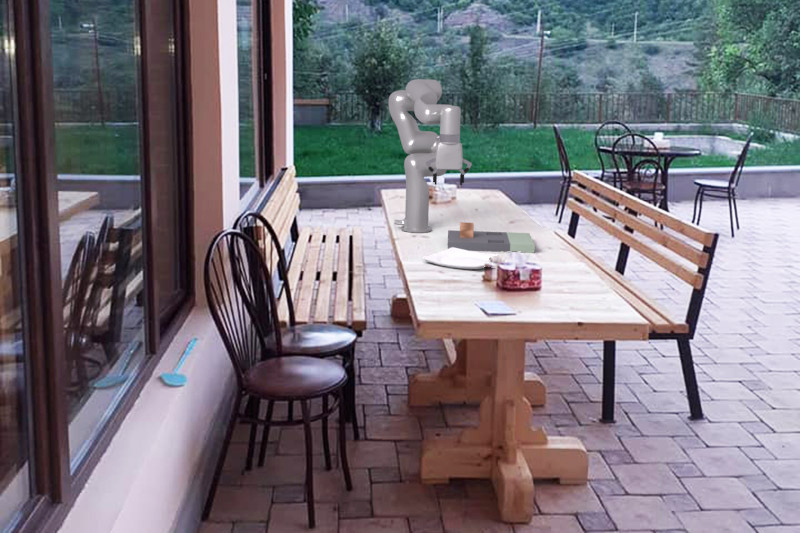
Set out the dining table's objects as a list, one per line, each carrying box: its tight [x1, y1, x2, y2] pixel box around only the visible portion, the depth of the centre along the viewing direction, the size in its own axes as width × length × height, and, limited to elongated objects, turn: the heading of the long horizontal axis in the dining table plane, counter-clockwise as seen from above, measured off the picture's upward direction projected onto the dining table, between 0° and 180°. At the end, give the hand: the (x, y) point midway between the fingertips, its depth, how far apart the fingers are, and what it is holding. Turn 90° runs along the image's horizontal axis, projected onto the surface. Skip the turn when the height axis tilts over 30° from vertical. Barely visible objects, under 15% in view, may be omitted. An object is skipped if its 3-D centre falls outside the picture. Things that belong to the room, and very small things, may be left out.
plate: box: [421, 247, 501, 270], centre depth 316 cm, size 24×24×3 cm
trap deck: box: [447, 229, 536, 254], centre depth 347 cm, size 32×24×3 cm
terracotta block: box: [459, 221, 474, 238], centre depth 347 cm, size 5×5×5 cm
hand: (448, 184), depth 344 cm, fingers open, 9 cm apart
